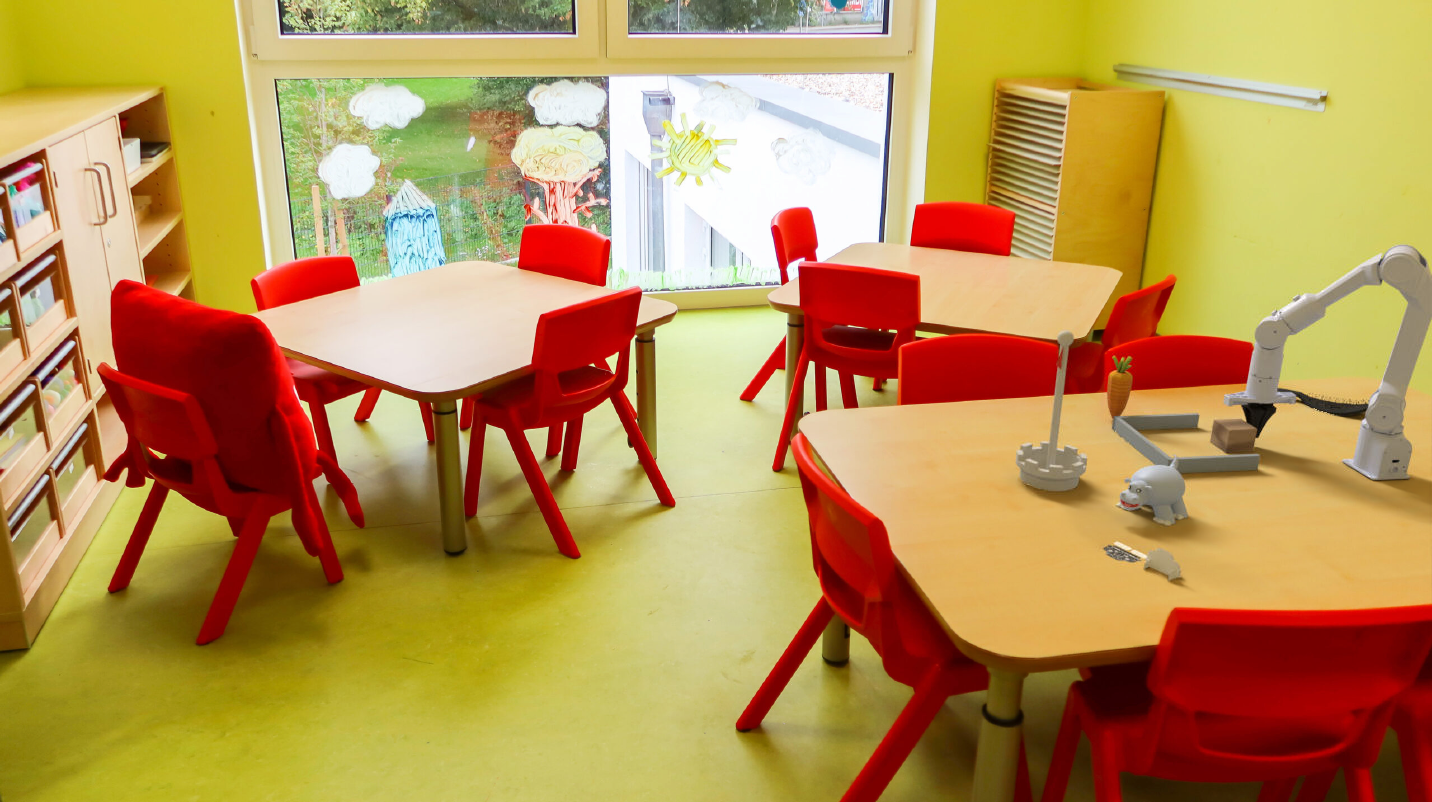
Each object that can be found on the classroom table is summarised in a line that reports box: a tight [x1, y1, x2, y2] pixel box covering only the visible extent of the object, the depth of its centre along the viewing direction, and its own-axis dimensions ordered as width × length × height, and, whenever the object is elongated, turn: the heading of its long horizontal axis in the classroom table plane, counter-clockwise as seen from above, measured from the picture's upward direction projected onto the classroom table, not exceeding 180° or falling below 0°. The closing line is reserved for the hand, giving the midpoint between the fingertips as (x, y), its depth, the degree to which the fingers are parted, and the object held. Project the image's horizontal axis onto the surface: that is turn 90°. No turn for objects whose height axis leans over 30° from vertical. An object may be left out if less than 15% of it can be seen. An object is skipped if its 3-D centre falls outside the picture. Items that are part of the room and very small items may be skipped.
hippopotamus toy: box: [1116, 454, 1189, 527], centre depth 198 cm, size 11×15×10 cm
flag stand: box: [1015, 329, 1088, 492], centre depth 208 cm, size 13×13×30 cm
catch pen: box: [1111, 412, 1261, 474], centre depth 228 cm, size 24×19×3 cm
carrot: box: [1106, 355, 1134, 420], centre depth 241 cm, size 5×5×15 cm
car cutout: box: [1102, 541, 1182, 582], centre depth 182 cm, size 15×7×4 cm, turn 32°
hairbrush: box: [1277, 387, 1369, 417], centre depth 254 cm, size 8×4×25 cm
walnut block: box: [1209, 418, 1257, 454], centre depth 228 cm, size 6×6×5 cm
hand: (1252, 436), depth 229 cm, fingers closed
